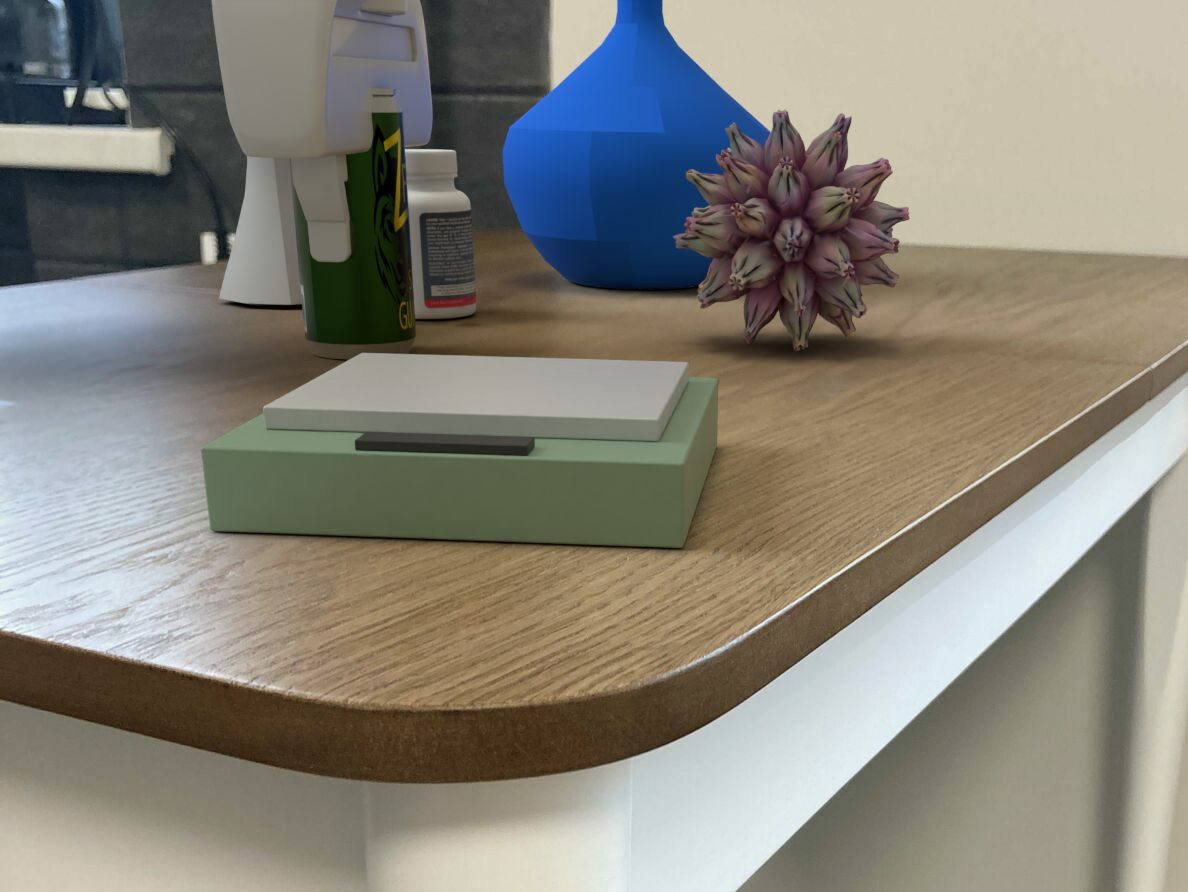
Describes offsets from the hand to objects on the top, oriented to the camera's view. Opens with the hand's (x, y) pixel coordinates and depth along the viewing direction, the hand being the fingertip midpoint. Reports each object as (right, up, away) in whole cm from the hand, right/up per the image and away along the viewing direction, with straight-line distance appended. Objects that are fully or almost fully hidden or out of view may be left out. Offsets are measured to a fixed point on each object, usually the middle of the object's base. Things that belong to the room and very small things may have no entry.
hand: (355, 253), depth 73 cm
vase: (+13, +8, +31) cm, 35 cm away
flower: (+21, -3, +6) cm, 22 cm away
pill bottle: (+1, +1, +15) cm, 15 cm away
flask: (-9, +3, +19) cm, 21 cm away
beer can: (0, -4, +2) cm, 5 cm away
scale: (+10, -15, -23) cm, 29 cm away
